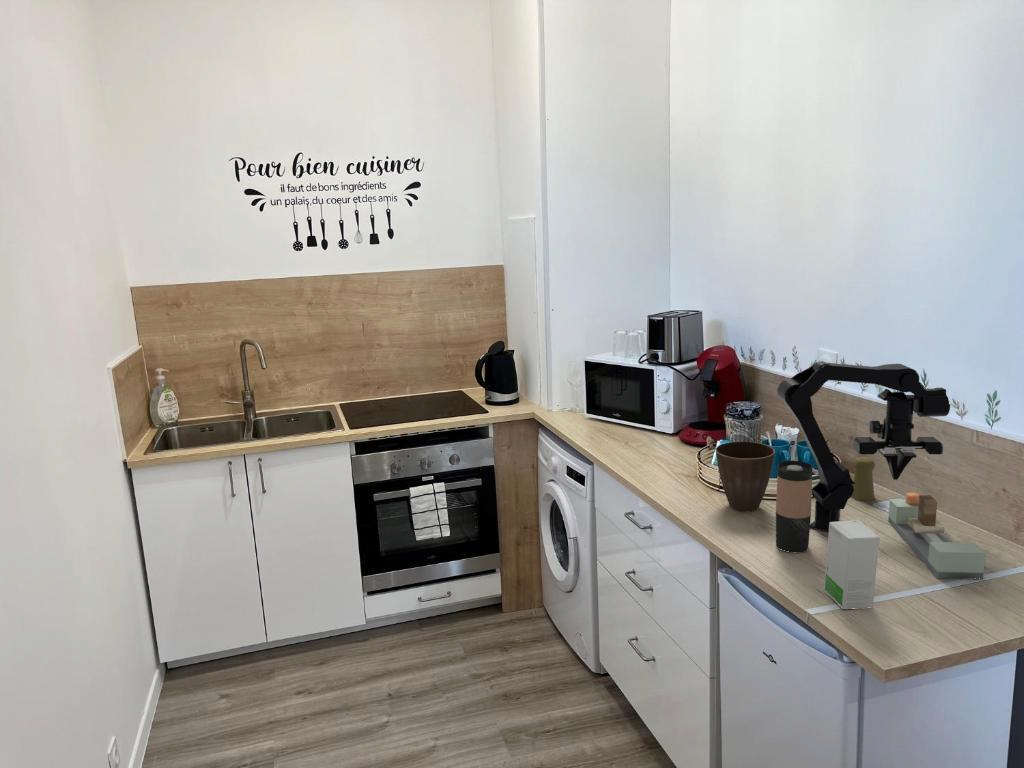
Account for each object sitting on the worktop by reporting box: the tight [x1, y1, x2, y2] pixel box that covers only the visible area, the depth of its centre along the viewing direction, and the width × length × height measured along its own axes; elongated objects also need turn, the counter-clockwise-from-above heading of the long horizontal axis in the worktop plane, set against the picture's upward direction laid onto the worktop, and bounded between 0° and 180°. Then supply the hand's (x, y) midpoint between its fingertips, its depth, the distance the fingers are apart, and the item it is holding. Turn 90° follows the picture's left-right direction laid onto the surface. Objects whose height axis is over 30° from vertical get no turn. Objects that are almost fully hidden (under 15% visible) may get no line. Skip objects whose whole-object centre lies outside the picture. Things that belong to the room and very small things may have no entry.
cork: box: [850, 456, 876, 502], centre depth 205 cm, size 6×6×11 cm
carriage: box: [908, 494, 945, 534], centre depth 176 cm, size 5×6×8 cm
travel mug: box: [775, 460, 813, 553], centre depth 176 cm, size 8×8×20 cm
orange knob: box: [905, 492, 921, 505], centre depth 185 cm, size 3×3×4 cm
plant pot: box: [715, 441, 776, 513], centre depth 201 cm, size 15×15×16 cm
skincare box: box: [823, 519, 881, 609], centre depth 152 cm, size 8×7×16 cm
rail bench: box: [887, 498, 986, 580], centre depth 173 cm, size 30×9×6 cm, turn 172°
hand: (894, 479), depth 184 cm, fingers closed
